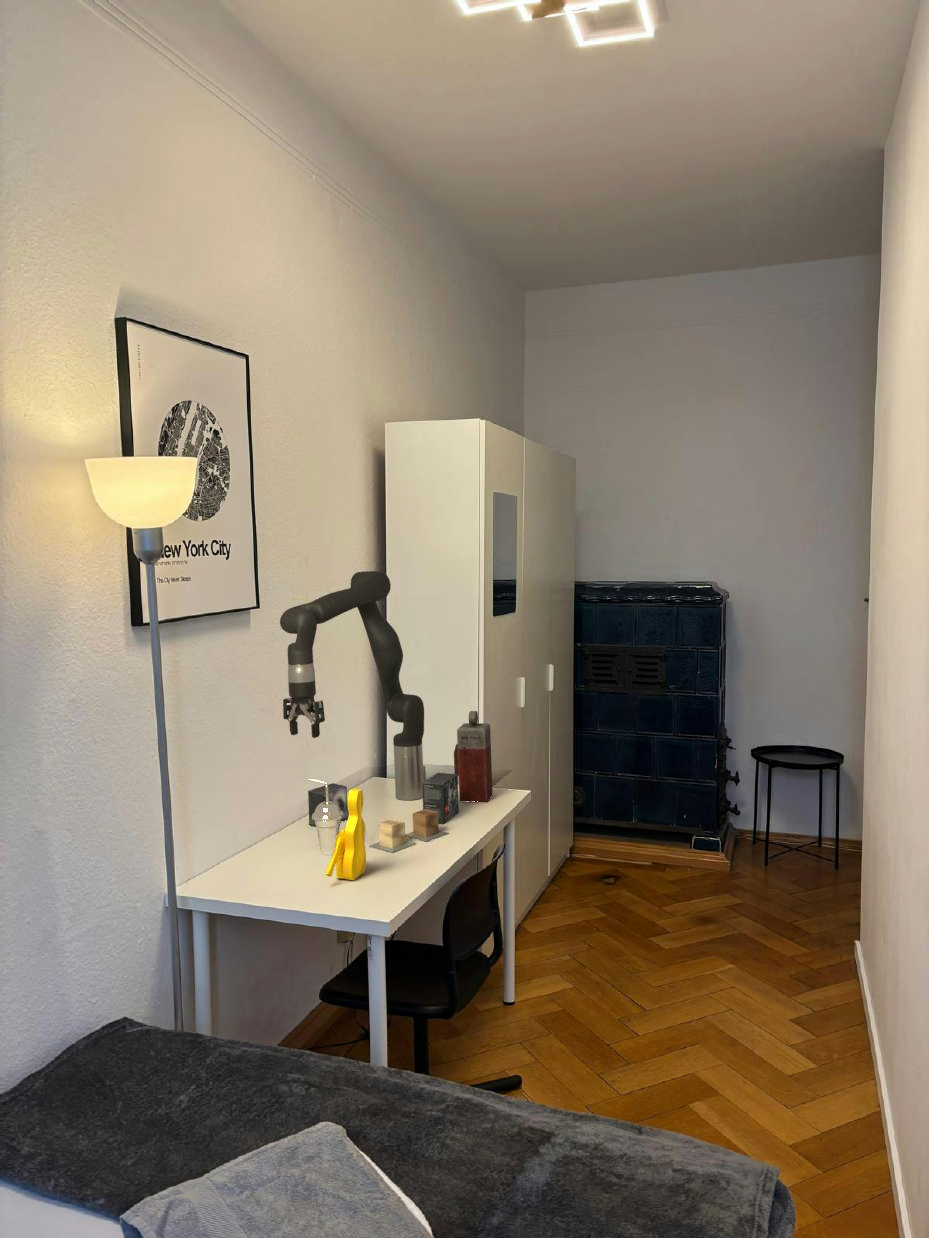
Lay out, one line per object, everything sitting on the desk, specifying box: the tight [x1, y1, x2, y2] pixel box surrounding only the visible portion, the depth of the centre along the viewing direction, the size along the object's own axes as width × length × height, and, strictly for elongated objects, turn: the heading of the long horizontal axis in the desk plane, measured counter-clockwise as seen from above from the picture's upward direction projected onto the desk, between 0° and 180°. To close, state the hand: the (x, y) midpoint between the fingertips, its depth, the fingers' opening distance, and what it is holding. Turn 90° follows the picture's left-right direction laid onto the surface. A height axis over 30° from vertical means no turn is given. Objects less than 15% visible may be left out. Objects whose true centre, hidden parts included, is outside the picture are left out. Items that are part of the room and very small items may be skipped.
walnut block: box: [412, 809, 440, 838], centre depth 267 cm, size 5×5×6 cm
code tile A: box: [405, 829, 449, 843], centre depth 267 cm, size 9×9×1 cm
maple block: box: [378, 818, 407, 848], centre depth 258 cm, size 5×5×6 cm
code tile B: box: [369, 840, 417, 854], centre depth 259 cm, size 9×9×1 cm
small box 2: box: [422, 772, 460, 825], centre depth 283 cm, size 13×7×12 cm, turn 161°
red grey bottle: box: [453, 710, 493, 803], centre depth 302 cm, size 9×11×28 cm
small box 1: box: [307, 782, 349, 828], centre depth 282 cm, size 11×6×10 cm, turn 143°
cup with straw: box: [307, 777, 344, 856], centre depth 254 cm, size 8×9×20 cm
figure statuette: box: [325, 788, 367, 881], centre depth 235 cm, size 18×8×22 cm, turn 159°
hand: (304, 735), depth 271 cm, fingers open, 8 cm apart
